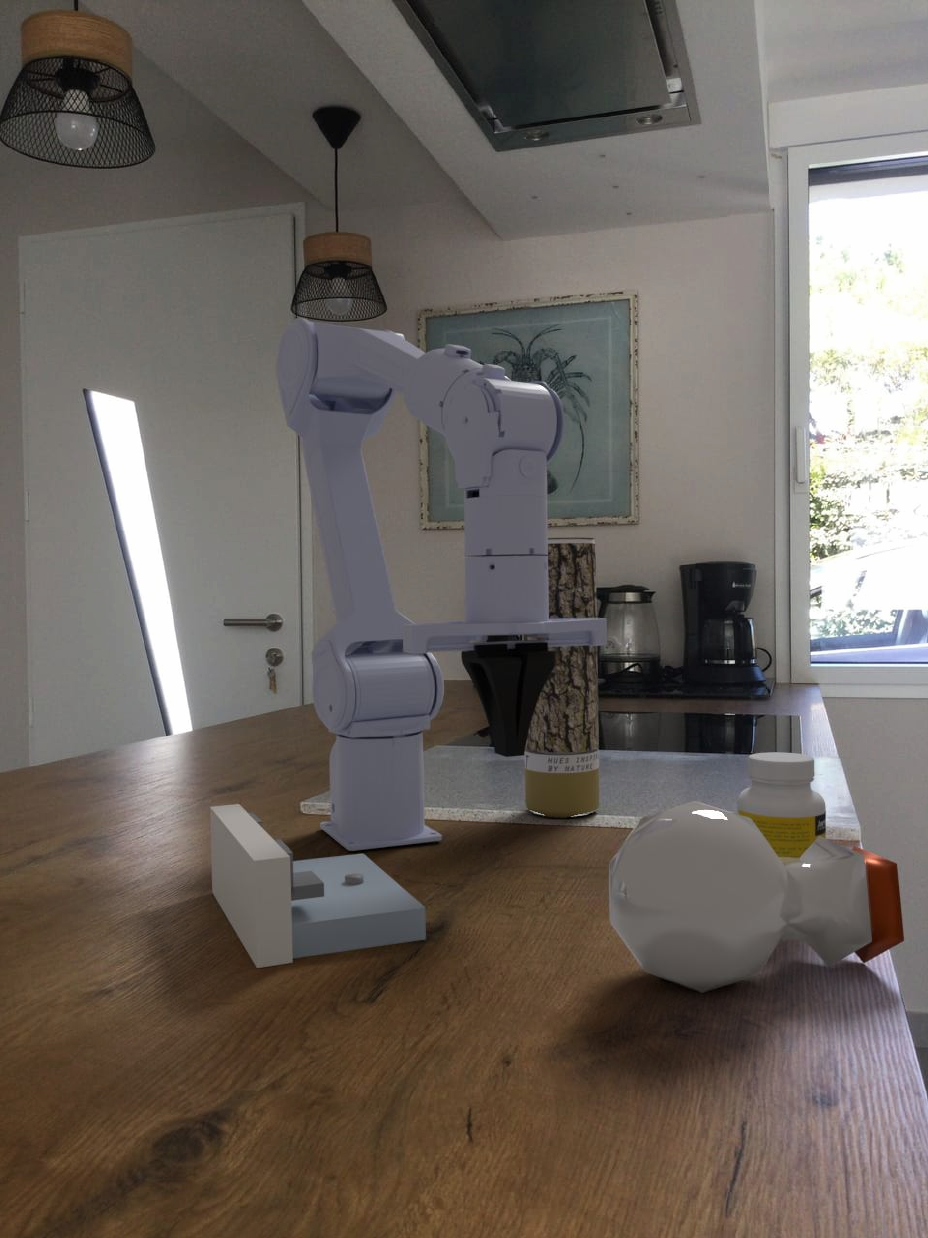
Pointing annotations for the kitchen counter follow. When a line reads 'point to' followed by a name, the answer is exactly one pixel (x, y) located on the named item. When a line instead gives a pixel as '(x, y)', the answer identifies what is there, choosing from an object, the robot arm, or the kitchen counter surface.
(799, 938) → the potion bottle
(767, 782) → the supplement bottle
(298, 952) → the door
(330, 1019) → the kitchen counter surface
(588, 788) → the paper tube
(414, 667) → the robot arm
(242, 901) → the side panel
